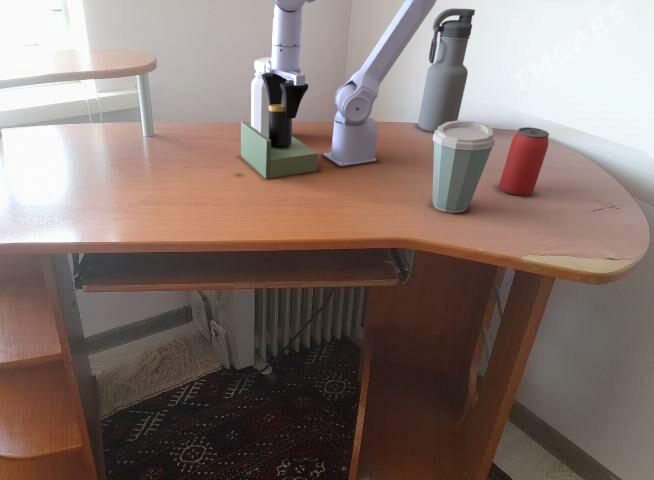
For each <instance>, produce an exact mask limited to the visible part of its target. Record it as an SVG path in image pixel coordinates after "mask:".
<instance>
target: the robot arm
mask: <svg viewBox="0 0 654 480" xmlns="http://www.w3.org/2000/svg"><path fill="white" fill-rule="evenodd" d="M273 1H274V3H275V4H274V8H273V19H272V35H271V36H272V37H271V57H272V61H266V72H268V74H262V79H263V81H264V83H265V86H266V89H267V93H268V99H269V104H270V105H274V104H281V101H282V94H283V97H284V110H285V117H286V119H291V118H292V119H296V117H297V114H298V111H299V108H300V106H301V102H302V100H303V97H304V96H305V94H306V92H307V91H308V89H309V84H307V83H306V74H304V73H303V71H302V70H301V68H300V58H301V57H300V56H301V41H302V26H303V24H302V23H303V20H302V19H303V18H302V15H303V14H302V12H303V6H304V5H305V4H306V3H308V4H310V3H313V2H316V0H273ZM436 2H437V0H405V1H404V2H403V4H402V5H401V7H400V8H399V10H398V11H397V12H396V14H395V16H394V17H393V19H392V21H391V22H390V23H389V24H388V26H387V28H386V30H384V32H383V34H382V36H381V37H380V38H379V40H378V42H377V43H376V45H375V46H374V48H373V49H372V51H371V52H370V54H369V55H368V57H367V58H366V60H365V61H364V63H363V64H362V66H361V67H360V69H359V70H357V71H356V72H354V73H353V74H352V75H351V77H350V78H349V80H347V81H346V82H345V83H343V84H342V85H341V86H340V87H338V89H337V91H336V92H335V95H334V104H335V106H336V108H337V109H338V110H337V112H336V113H335V115H334V118H333V119H334V122H333V130H332V142H331V151H330V152H324V153H323V156H324V157H325V158H327V159H328V160H329V161H331V162H333V163H334V164H336V165H337V166H338V167H347V166H353V165H354V166H355V165H360V164H361V165H362V164H367V163H374V162H377V158H376V157H375V155H376V149H377V141H378V133H379V130H378V125H377V122H376V121H375V119H373V118H372V117H370V115H371V113H372V109H373V105H374V103H375V101H376V99H377V98H378V95H379V91H380V87H381V86H380V85H381V84H382V83H383V80H384V79H385V78H386V76H387V74H389V72H390V70H391V69H392V68H393V66H394V64H395V63H396V61H398V59H399V57H400V56H401V55H402V53H403V51H404V50H405V48H406V47H407V46H408V44H409V42H410V41H411V40H412V38H413V37H414V35H415V34H416V32H417V31H418V29H419V28H420V27H421V25H422V24H423V22H424V21H425V19H426V18H427V17H428V15H429V14H430V13H431V11H432V9H433V8H434V6H435V5H436ZM286 80H289V83H285V82H286Z"/></svg>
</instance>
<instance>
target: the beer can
mask: <svg viewBox="0 0 654 480" xmlns="http://www.w3.org/2000/svg"><path fill="white" fill-rule="evenodd" d="M549 135H550V133H549V132H548V131H547V130H544V129H542V128H538V127H537V128H536V127H529V126H528V127H520V128H518V129H517V131H516V133H515V134H514V136H513V137H512V140H511V142H510V146H509V149H508V153H507V156H506V159H505V163H504V166H503V170H502V173H501V177H500V181H499V184H498V187H499V189H500V190H501V191H502V192H503V193H506V194H508V195H512V196H518V197H524V196H529V195H531V194H532V193H534V192H535V188H536V185H537V182H538V179H539V175H540V172H541V170H542V166H543V164H544V160H545V157H546V154H547V151H548V147H549V143H550V142H549V141H550V140H549Z"/></svg>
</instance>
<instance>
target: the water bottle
mask: <svg viewBox="0 0 654 480" xmlns="http://www.w3.org/2000/svg"><path fill="white" fill-rule="evenodd" d="M475 13H476V10H475V9H473V8H447V9H445V10H442V11H441V12H440V13H439V14H438V15H437V16H436V17H435V19H434V21H433V24H432V30H433V36H432V37H433V38H432V39H431V42H430V48H429V54H428V61H429V64H431V65H430V66H429V67H428V68H427V72H426V76H425V83H424V88H423V92H422V93H423V94H422V99H421V104H420V110H419V115H418V120H417V126H418V127H419V128H420V129H421V130H423V131H425V132H429V133H434V132H435V131H436V130H438V127H439V126H440V125H442V124H444V123H446V122H452V121H458V120H459V115H460V111H461V106H462V103H463V98H464V93H465V89H466V84H467V79H468V73H469V71H468V69H467V67H466V66H465V65H464V61H465V56H466V51H467V46H468V42H469V39H470V38H471V37H470V36H471V34H472V29H473V23H472V22H473V21H472V20H473V16H475ZM452 16H453V17H456V16H458V19H450V20H446V19H447V18H450V17H452ZM444 20H446V21H444ZM439 34H440V35H439ZM438 35H439V43H438ZM437 47H438V48H437ZM436 51H437V53H436ZM435 56H436V59H435ZM435 60H436V61H435Z"/></svg>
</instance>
